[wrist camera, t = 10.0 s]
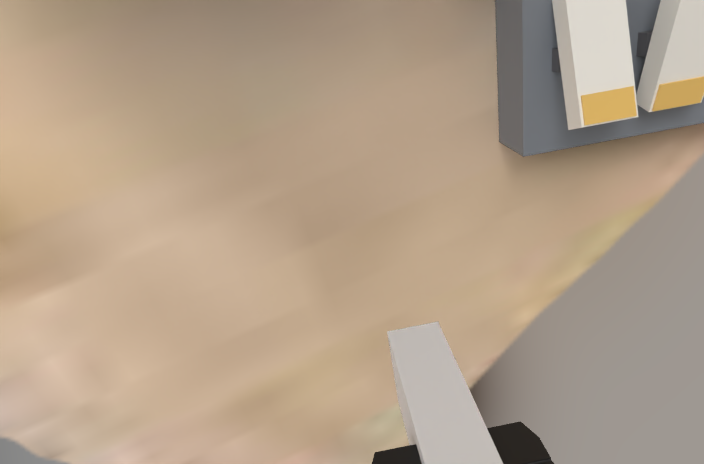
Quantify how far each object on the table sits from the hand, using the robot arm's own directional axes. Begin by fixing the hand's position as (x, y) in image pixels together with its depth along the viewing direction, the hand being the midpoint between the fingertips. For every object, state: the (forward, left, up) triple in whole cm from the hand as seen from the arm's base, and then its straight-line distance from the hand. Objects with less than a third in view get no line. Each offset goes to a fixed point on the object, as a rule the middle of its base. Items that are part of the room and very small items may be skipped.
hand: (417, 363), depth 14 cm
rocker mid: (-4, +25, -22) cm, 33 cm away
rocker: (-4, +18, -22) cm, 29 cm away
